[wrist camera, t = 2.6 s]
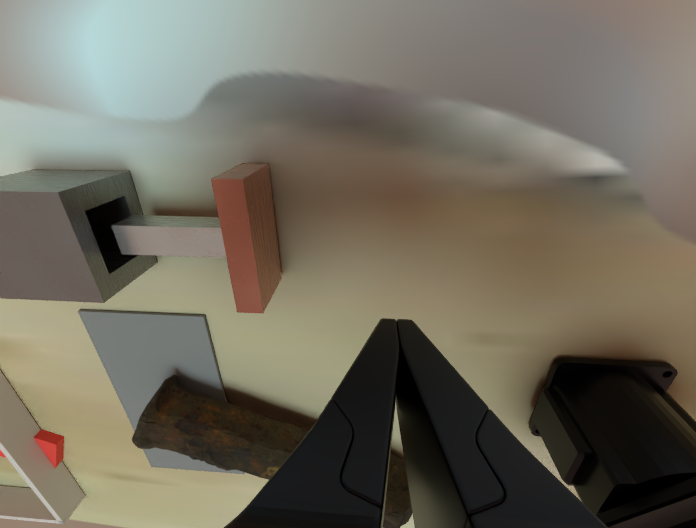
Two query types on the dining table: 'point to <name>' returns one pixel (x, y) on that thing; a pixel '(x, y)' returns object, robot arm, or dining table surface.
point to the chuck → (66, 235)
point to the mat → (156, 364)
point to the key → (220, 234)
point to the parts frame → (32, 468)
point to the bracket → (49, 446)
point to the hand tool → (240, 440)
